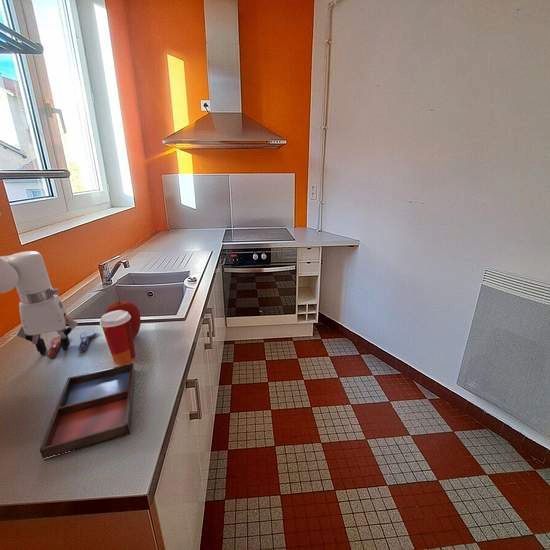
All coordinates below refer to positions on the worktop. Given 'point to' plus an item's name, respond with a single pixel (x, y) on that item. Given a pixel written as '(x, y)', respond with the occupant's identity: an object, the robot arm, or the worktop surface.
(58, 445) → the tray
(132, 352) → the paper cup
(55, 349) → the red spoon
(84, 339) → the blue spoon
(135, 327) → the apple
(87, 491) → the worktop surface
